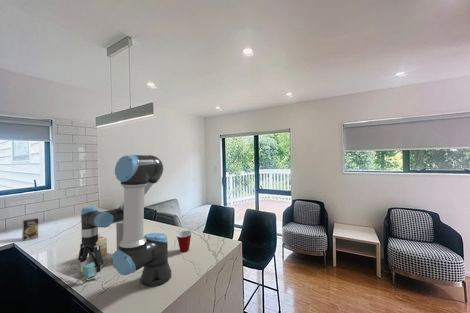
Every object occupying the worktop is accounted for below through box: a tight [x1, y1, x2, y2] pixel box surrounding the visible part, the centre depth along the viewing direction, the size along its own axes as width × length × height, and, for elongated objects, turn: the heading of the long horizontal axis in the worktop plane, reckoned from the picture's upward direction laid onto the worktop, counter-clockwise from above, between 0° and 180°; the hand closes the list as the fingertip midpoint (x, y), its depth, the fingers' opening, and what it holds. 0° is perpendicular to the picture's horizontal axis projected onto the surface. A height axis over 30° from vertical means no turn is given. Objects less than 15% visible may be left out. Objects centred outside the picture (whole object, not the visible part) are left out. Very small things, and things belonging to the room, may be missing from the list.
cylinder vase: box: [115, 221, 123, 251], centre depth 134 cm, size 12×12×25 cm
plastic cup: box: [175, 230, 193, 253], centre depth 146 cm, size 11×11×12 cm
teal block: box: [82, 262, 95, 280], centre depth 116 cm, size 5×5×6 cm
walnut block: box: [88, 246, 108, 260], centre depth 135 cm, size 7×7×6 cm
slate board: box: [72, 252, 114, 267], centre depth 133 cm, size 18×18×2 cm
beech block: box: [96, 235, 108, 249], centre depth 135 cm, size 7×7×6 cm
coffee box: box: [21, 218, 39, 242], centre depth 179 cm, size 9×6×16 cm
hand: (90, 275), depth 116 cm, fingers open, 11 cm apart
